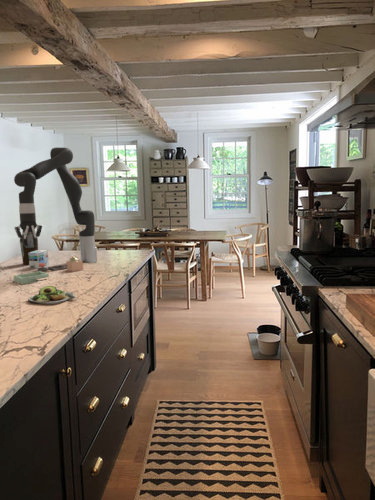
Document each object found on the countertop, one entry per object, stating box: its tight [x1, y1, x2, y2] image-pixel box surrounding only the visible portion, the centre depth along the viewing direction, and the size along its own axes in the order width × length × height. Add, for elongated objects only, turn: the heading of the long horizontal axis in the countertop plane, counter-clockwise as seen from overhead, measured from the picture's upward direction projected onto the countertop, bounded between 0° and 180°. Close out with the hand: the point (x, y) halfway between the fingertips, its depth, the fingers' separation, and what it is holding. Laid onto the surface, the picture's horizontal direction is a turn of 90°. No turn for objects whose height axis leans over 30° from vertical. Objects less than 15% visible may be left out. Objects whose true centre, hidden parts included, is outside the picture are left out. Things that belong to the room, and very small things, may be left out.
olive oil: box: [19, 237, 39, 266], centre depth 247 cm, size 11×11×25 cm
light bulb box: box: [28, 249, 50, 269], centre depth 230 cm, size 11×7×11 cm, turn 168°
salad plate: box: [27, 285, 76, 305], centre depth 166 cm, size 19×18×5 cm
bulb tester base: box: [31, 264, 67, 273], centre depth 220 cm, size 18×10×3 cm, turn 135°
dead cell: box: [69, 256, 79, 262], centre depth 218 cm, size 4×4×8 cm
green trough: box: [13, 271, 49, 285], centre depth 201 cm, size 14×10×3 cm
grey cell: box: [26, 232, 34, 248], centre depth 199 cm, size 4×4×8 cm
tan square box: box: [66, 258, 84, 272], centre depth 218 cm, size 6×6×7 cm
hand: (29, 245), depth 199 cm, fingers closed on grey cell, 4 cm apart
